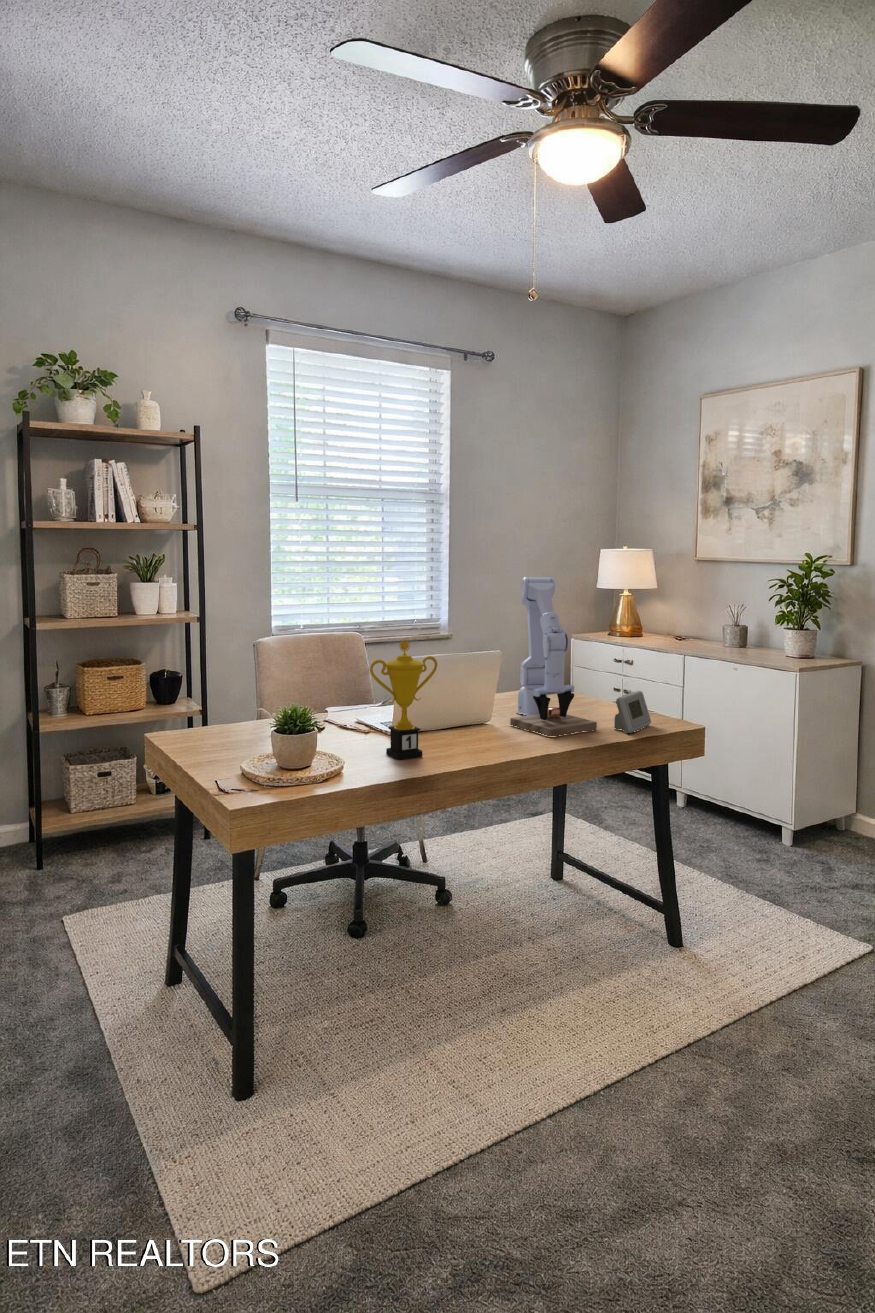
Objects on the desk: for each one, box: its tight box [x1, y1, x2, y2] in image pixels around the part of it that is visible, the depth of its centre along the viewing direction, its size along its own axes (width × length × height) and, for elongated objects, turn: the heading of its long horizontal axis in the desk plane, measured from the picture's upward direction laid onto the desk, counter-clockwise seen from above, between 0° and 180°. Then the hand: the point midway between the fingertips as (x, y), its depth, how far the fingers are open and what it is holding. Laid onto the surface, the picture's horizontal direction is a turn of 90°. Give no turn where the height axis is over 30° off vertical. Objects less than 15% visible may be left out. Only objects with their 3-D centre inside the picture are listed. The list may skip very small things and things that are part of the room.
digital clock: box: [613, 690, 652, 734], centre depth 239 cm, size 16×9×11 cm, turn 132°
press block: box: [509, 713, 598, 736], centre depth 239 cm, size 18×18×4 cm
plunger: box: [547, 706, 560, 718], centre depth 239 cm, size 4×4×6 cm
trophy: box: [369, 639, 438, 761], centre depth 205 cm, size 19×10×30 cm, turn 120°
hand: (553, 718), depth 239 cm, fingers open, 7 cm apart
